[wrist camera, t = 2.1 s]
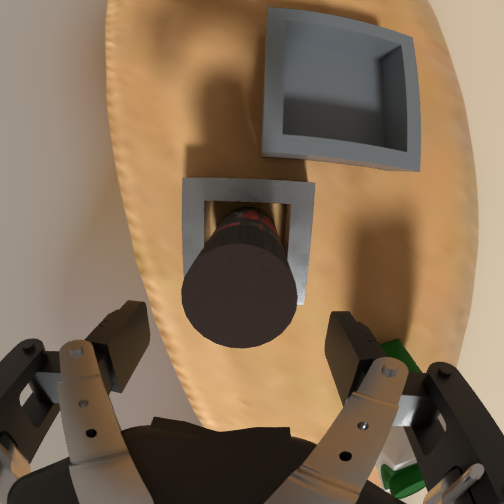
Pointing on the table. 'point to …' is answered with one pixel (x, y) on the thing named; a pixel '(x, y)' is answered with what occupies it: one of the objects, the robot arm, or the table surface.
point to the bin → (339, 92)
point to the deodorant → (241, 283)
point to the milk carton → (400, 443)
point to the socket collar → (250, 190)
